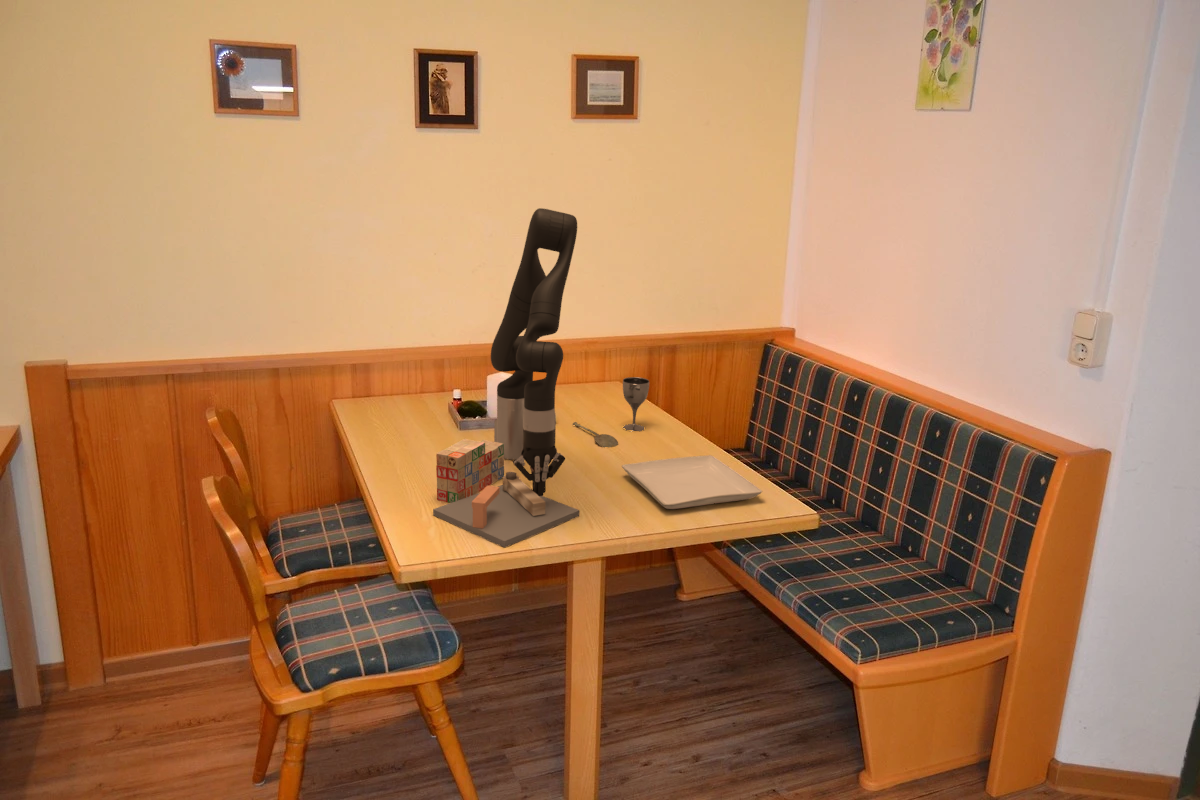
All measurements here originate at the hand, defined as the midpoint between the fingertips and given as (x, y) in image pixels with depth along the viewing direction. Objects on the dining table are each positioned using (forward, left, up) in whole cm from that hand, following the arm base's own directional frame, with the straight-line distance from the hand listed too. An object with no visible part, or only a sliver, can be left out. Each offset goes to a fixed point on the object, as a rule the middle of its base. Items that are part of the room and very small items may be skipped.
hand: (538, 494), depth 219 cm
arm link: (-3, -2, -2) cm, 4 cm away
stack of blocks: (-21, -3, -4) cm, 21 cm away
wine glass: (-23, +65, -4) cm, 69 cm away
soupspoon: (-27, +50, -4) cm, 57 cm away
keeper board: (-2, -8, -4) cm, 9 cm away
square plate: (+18, +37, -4) cm, 41 cm away
